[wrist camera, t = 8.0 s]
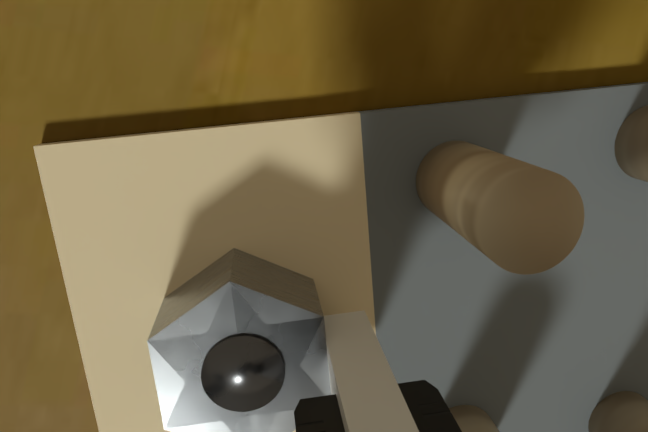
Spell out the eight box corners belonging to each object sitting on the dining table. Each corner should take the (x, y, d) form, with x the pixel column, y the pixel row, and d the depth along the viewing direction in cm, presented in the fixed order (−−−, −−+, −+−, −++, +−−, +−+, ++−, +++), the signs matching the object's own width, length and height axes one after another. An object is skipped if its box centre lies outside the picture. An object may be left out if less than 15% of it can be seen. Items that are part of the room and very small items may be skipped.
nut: (184, 411, 20) (171, 472, 17) (156, 257, 18) (137, 294, 15) (324, 390, 20) (336, 446, 17) (309, 238, 18) (319, 271, 15)
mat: (133, 553, 21) (130, 567, 21) (40, 143, 17) (33, 146, 17) (831, 434, 24) (845, 443, 24) (900, 56, 20) (919, 55, 19)
